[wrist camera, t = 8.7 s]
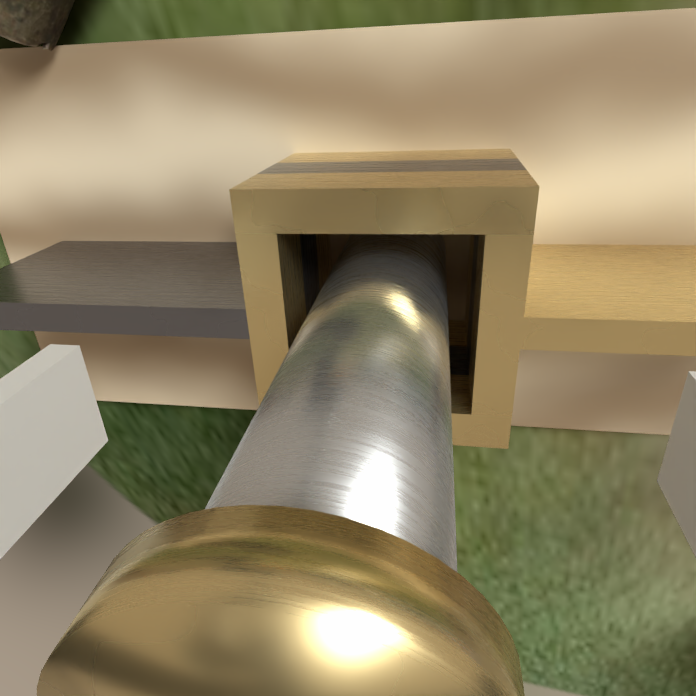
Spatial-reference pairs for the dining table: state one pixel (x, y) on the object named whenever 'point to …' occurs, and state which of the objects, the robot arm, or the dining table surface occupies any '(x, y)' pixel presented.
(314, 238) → the hinge
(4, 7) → the branch with fungus
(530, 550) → the dining table surface
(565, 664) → the dining table surface
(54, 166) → the mounting board
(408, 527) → the hinge pin
